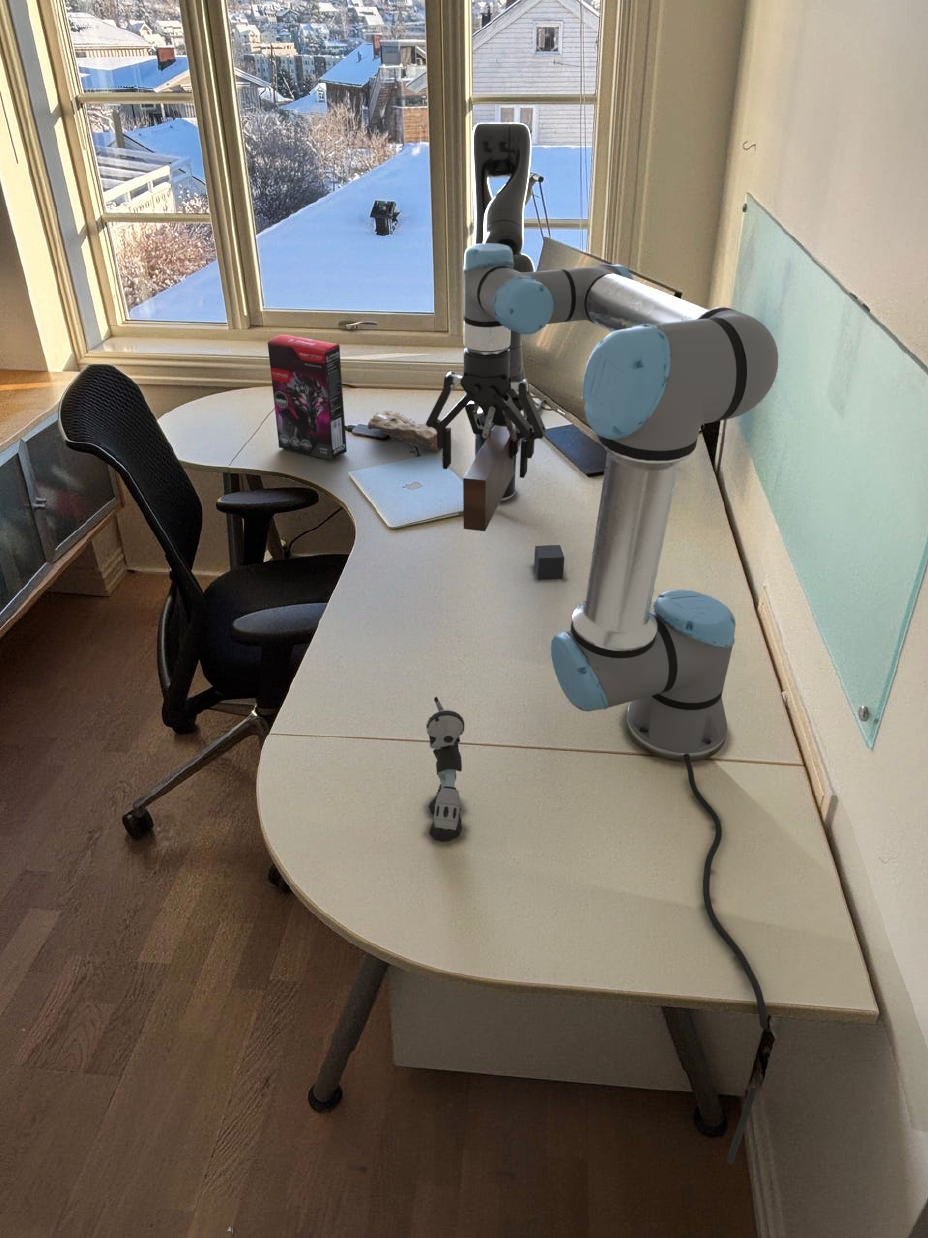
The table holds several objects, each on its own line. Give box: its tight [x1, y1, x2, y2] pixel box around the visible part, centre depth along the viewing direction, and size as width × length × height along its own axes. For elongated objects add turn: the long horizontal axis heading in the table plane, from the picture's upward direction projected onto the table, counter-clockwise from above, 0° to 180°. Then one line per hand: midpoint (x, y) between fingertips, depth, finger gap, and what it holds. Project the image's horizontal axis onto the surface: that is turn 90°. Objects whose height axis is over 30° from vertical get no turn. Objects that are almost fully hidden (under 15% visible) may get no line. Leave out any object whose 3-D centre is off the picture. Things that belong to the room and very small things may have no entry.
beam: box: [462, 425, 514, 532], centre depth 171 cm, size 24×4×10 cm, turn 165°
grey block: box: [533, 544, 565, 581], centre depth 181 cm, size 5×5×5 cm
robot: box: [425, 696, 465, 842], centre depth 121 cm, size 20×5×20 cm, turn 3°
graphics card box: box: [267, 333, 348, 461], centre depth 223 cm, size 17×7×27 cm, turn 62°
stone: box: [367, 410, 439, 451], centre depth 235 cm, size 21×15×6 cm
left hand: (500, 455), depth 177 cm, fingers closed on beam, 4 cm apart
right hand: (484, 470), depth 159 cm, fingers open, 13 cm apart
